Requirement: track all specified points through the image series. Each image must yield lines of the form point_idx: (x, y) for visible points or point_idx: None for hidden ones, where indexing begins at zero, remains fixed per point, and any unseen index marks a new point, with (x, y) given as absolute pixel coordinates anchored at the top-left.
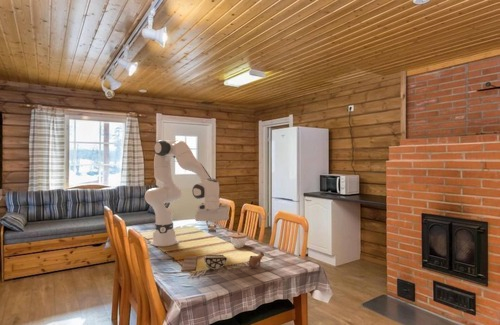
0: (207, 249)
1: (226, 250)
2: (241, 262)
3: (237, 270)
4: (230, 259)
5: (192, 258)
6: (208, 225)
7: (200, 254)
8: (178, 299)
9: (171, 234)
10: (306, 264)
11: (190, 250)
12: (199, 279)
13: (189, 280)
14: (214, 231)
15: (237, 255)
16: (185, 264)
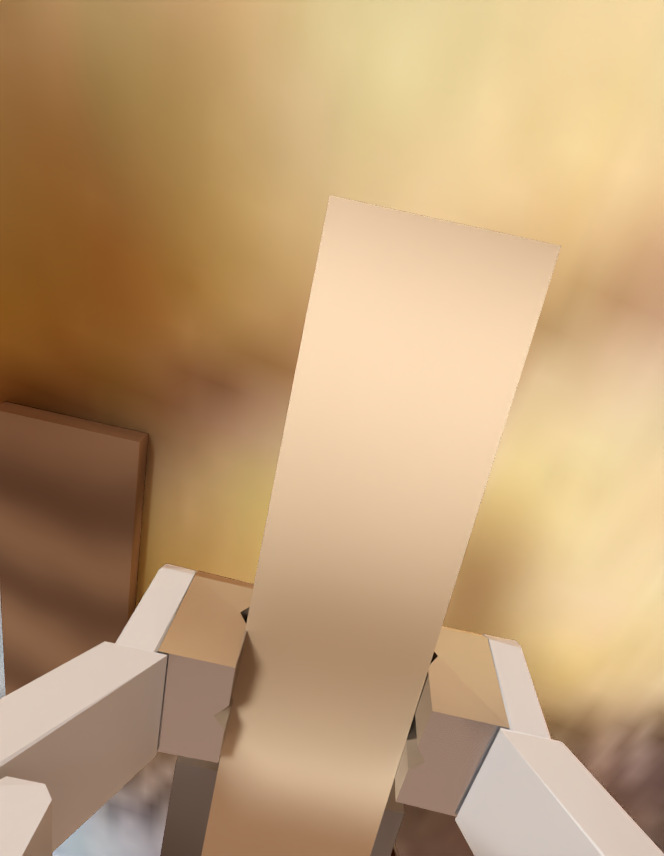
0: (343, 65)
1: (622, 256)
2: (575, 715)
3: (457, 830)
4: (509, 609)
5: (88, 492)
6: (143, 742)
7: (202, 303)
8: None
9: None
10: None
11: (51, 13)
12: (155, 845)
13: (90, 835)
14: None
15: (652, 524)
16: (28, 625)
